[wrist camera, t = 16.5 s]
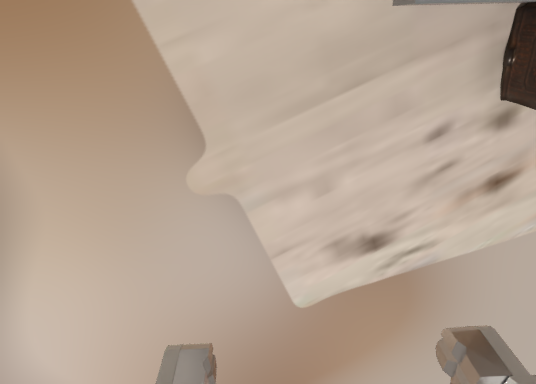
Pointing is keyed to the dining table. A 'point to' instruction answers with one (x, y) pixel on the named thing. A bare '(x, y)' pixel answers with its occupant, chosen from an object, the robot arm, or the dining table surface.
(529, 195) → the dining table surface
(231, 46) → the dining table surface
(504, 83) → the manual coffee grinder
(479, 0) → the port block
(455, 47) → the dining table surface
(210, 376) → the robot arm
